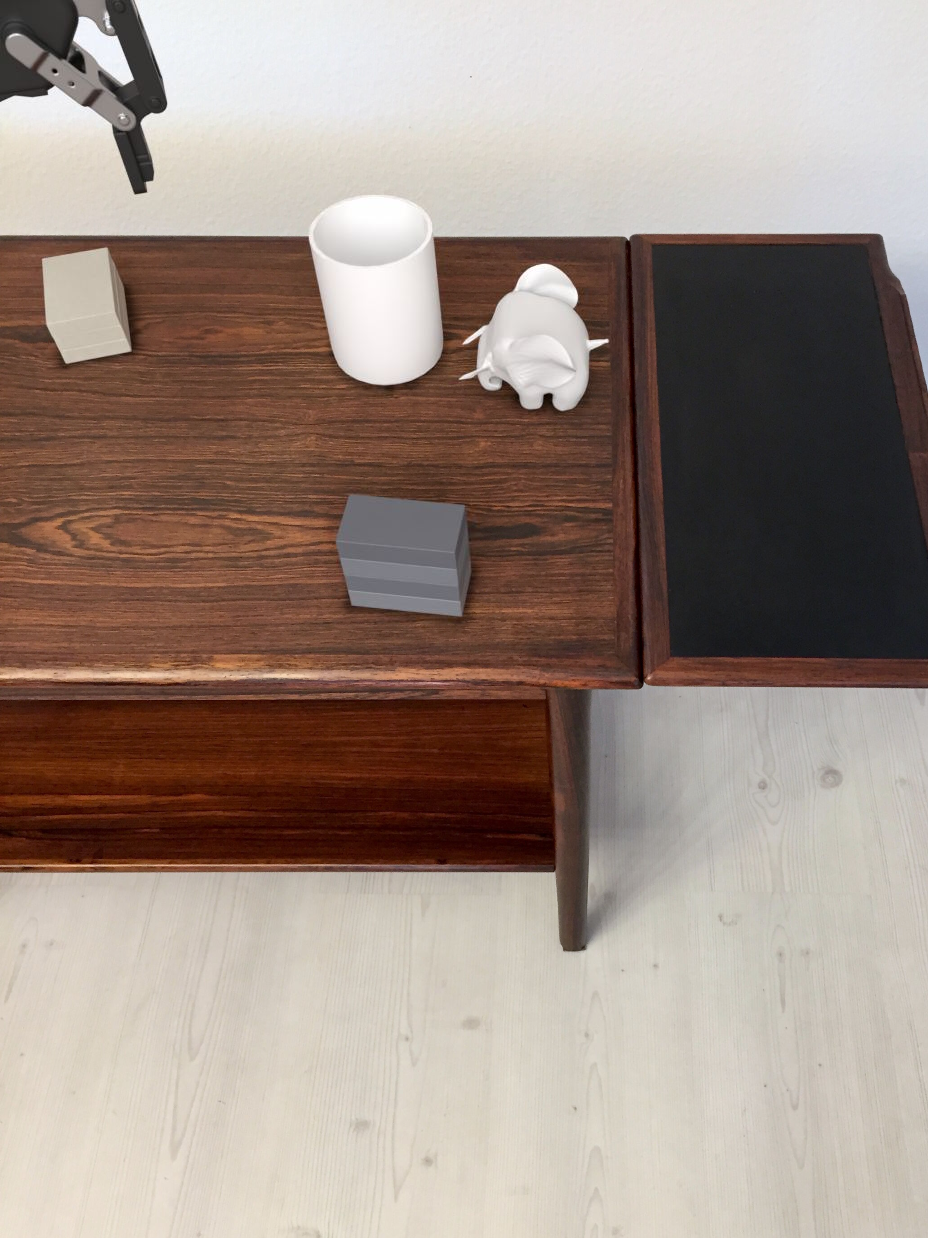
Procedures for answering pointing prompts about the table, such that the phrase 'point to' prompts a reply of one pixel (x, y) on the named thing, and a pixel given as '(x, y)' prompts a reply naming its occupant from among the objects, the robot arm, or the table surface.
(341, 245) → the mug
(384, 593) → the grey rectangular block
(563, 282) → the elephant figurine
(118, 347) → the cream rectangular box
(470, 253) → the table surface
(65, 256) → the off-white rectangular slab
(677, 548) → the table surface
